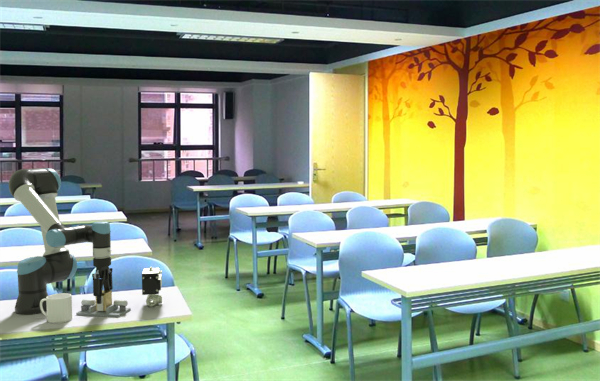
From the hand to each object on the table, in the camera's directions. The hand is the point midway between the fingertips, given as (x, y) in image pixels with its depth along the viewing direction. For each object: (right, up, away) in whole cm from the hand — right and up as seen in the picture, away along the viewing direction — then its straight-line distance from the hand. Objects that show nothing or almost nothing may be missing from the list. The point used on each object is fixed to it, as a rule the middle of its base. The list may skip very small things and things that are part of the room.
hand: (103, 308), depth 261 cm
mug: (-16, -3, -11) cm, 20 cm away
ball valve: (+19, -1, +13) cm, 23 cm away
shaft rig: (0, -2, 0) cm, 2 cm away
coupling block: (0, 0, 0) cm, 0 cm away
